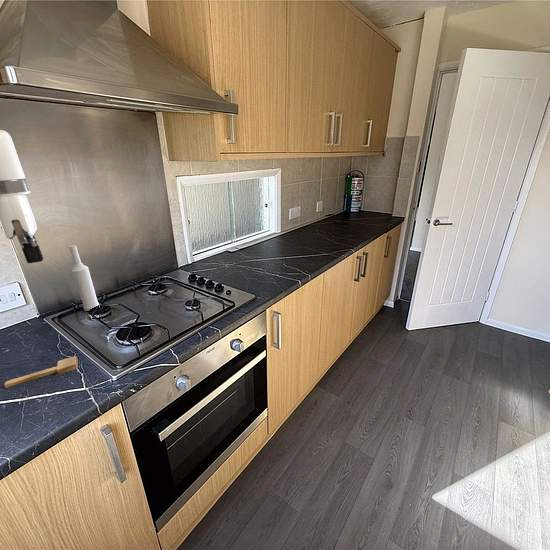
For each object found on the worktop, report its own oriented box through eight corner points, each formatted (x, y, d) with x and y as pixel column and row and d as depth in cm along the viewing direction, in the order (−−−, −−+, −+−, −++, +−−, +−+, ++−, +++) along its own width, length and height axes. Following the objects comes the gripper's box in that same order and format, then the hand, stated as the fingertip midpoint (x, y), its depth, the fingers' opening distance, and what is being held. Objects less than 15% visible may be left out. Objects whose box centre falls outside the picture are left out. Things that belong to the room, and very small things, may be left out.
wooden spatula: (4, 391, 73) (1, 387, 73) (8, 381, 77) (5, 376, 76) (77, 368, 80) (75, 364, 80) (78, 359, 84) (76, 355, 83)
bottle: (100, 309, 111) (81, 246, 101) (84, 313, 108) (63, 249, 98) (99, 304, 115) (80, 242, 105) (84, 308, 112) (63, 245, 102)
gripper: (-5, 186, 73) (22, 256, 80) (-23, 193, 61) (11, 274, 68) (33, 184, 76) (55, 251, 83) (22, 189, 64) (50, 267, 71)
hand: (35, 261), depth 76 cm, fingers closed
